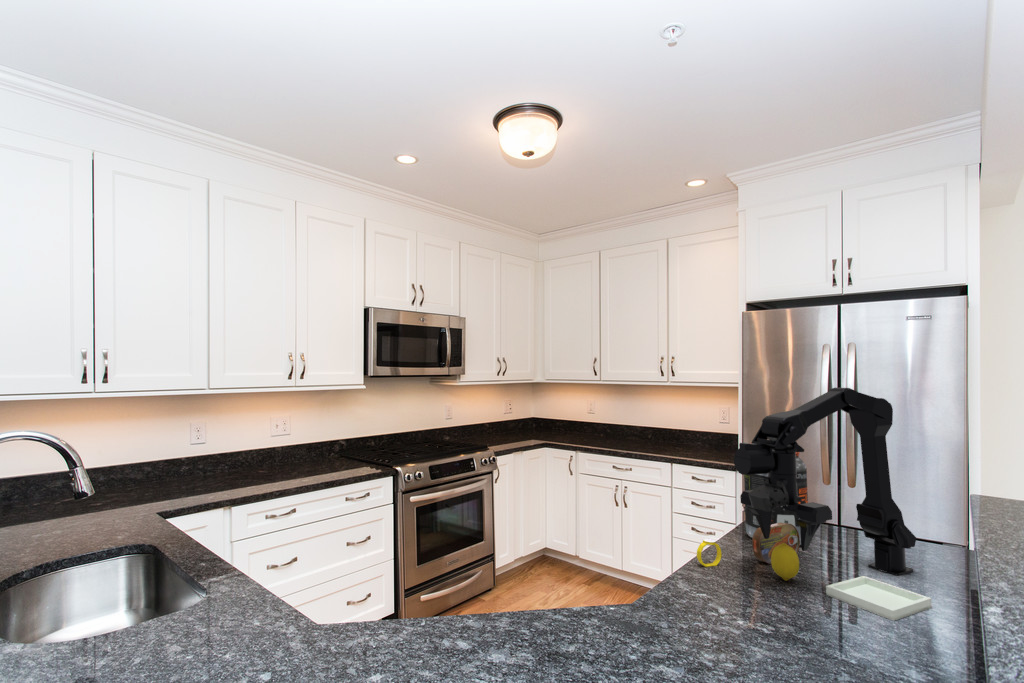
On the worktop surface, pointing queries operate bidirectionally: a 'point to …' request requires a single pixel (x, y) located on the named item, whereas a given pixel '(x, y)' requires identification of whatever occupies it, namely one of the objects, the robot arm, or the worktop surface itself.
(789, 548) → the lemon
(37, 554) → the worktop surface
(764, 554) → the tin
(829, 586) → the tray
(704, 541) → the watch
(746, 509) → the supplement tub
